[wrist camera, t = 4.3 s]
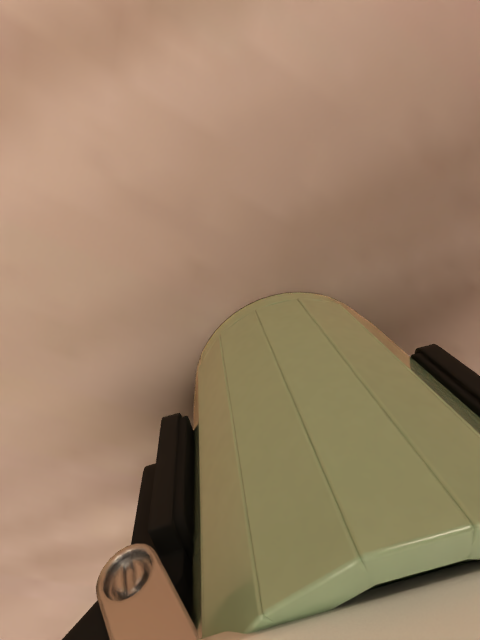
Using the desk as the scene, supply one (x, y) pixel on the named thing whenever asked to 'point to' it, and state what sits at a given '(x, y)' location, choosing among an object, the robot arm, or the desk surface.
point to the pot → (321, 466)
